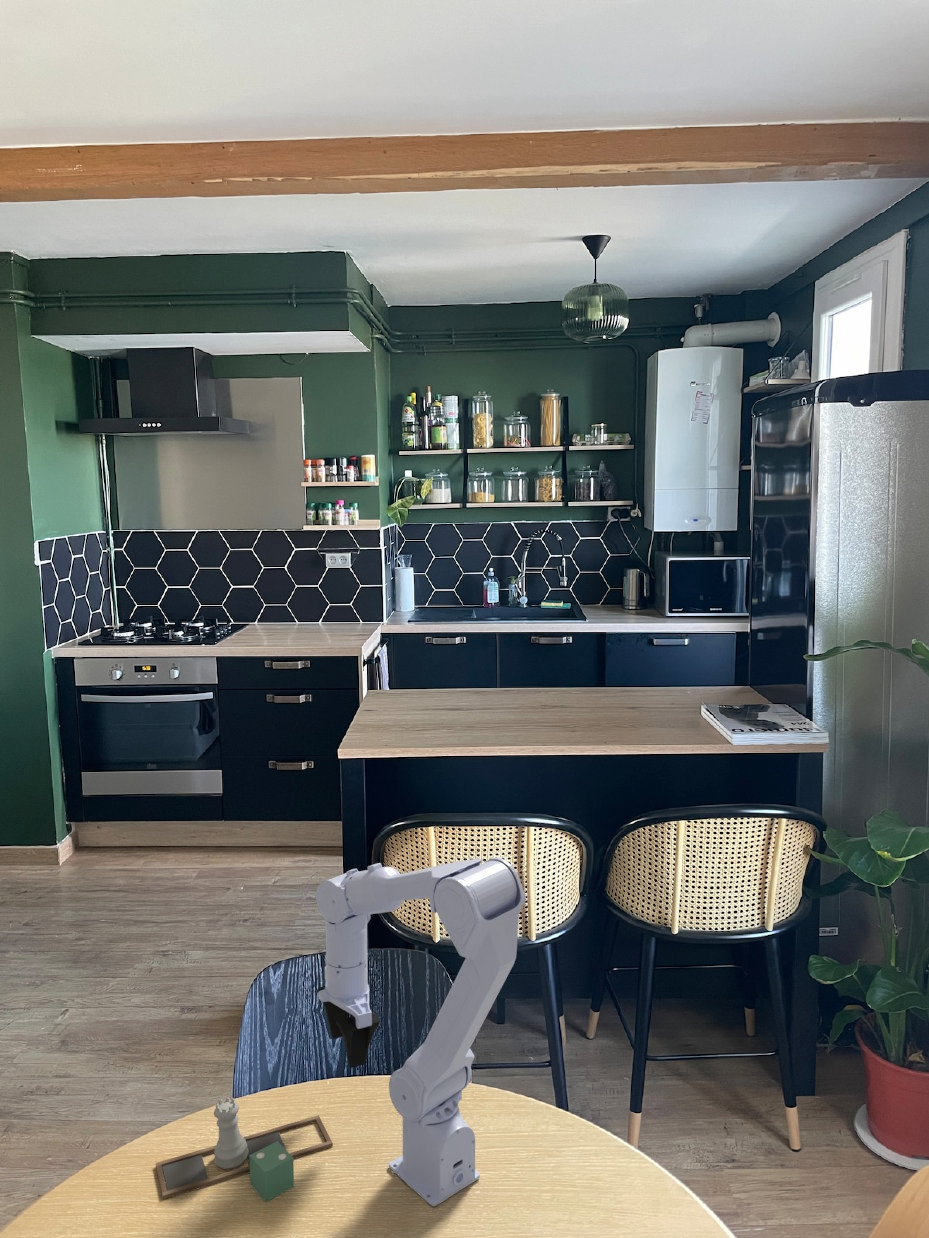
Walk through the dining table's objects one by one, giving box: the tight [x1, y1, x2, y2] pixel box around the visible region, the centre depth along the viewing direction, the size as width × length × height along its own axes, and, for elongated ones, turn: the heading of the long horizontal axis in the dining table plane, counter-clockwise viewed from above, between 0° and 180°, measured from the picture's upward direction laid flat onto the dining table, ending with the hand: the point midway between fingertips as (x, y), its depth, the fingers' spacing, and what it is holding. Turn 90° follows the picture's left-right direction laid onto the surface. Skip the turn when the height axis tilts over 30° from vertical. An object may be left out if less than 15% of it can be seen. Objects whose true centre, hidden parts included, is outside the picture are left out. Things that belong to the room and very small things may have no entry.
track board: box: [155, 1114, 334, 1200], centre depth 122 cm, size 22×6×1 cm, turn 116°
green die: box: [249, 1141, 295, 1203], centre depth 116 cm, size 4×4×4 cm
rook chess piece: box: [213, 1097, 249, 1170], centre depth 120 cm, size 4×4×8 cm
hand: (347, 1049), depth 129 cm, fingers open, 7 cm apart
